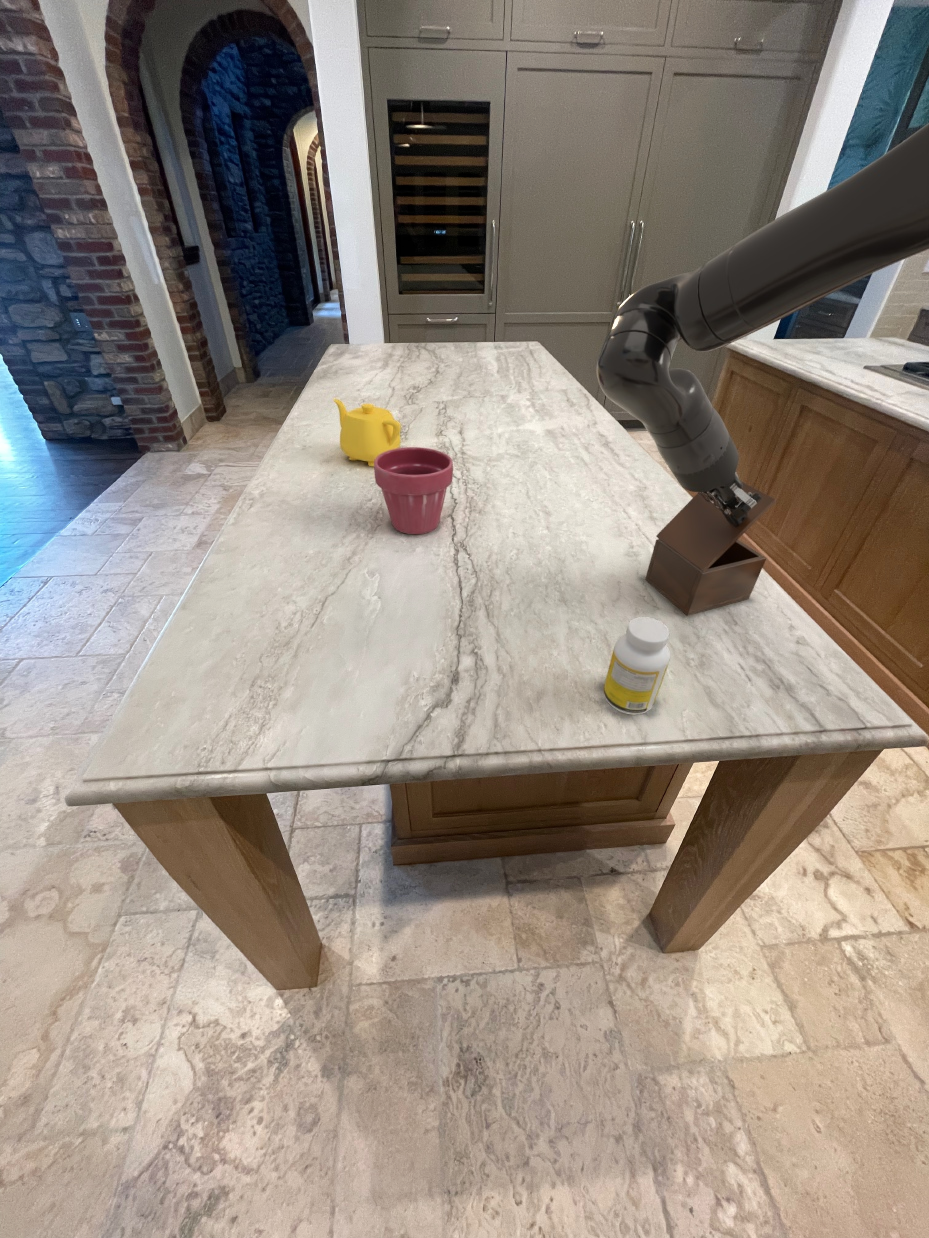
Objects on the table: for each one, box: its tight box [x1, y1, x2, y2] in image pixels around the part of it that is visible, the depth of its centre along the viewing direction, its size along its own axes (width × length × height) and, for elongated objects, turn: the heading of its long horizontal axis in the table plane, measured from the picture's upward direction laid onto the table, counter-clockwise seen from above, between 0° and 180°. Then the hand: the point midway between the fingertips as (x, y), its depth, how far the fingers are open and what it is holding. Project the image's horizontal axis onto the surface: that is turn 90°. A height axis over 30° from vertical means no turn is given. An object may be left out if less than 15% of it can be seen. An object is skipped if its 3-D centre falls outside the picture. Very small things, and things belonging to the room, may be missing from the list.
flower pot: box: [373, 446, 454, 535], centre depth 101 cm, size 14×14×13 cm
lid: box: [655, 480, 777, 572], centre depth 80 cm, size 13×11×1 cm
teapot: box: [333, 398, 402, 467], centre depth 127 cm, size 13×20×12 cm
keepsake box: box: [644, 538, 767, 617], centre depth 86 cm, size 13×11×8 cm
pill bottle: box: [603, 616, 671, 715], centre depth 65 cm, size 6×6×12 cm
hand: (738, 519), depth 77 cm, fingers closed
